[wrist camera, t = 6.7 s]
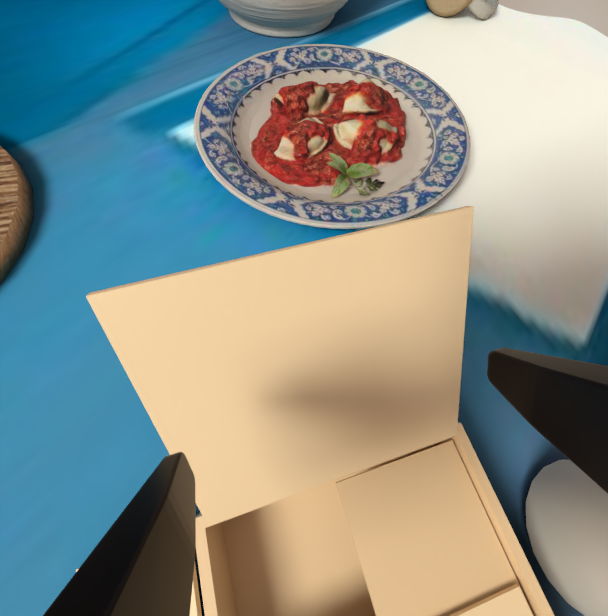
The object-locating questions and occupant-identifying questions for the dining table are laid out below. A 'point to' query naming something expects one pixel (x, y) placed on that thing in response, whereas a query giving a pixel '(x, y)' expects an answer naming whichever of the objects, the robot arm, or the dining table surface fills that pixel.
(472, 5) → the ceramic mug
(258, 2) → the vase
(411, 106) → the ceramic plate
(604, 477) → the robot arm
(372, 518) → the carton
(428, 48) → the dining table surface
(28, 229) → the trivet
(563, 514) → the can
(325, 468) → the flap
